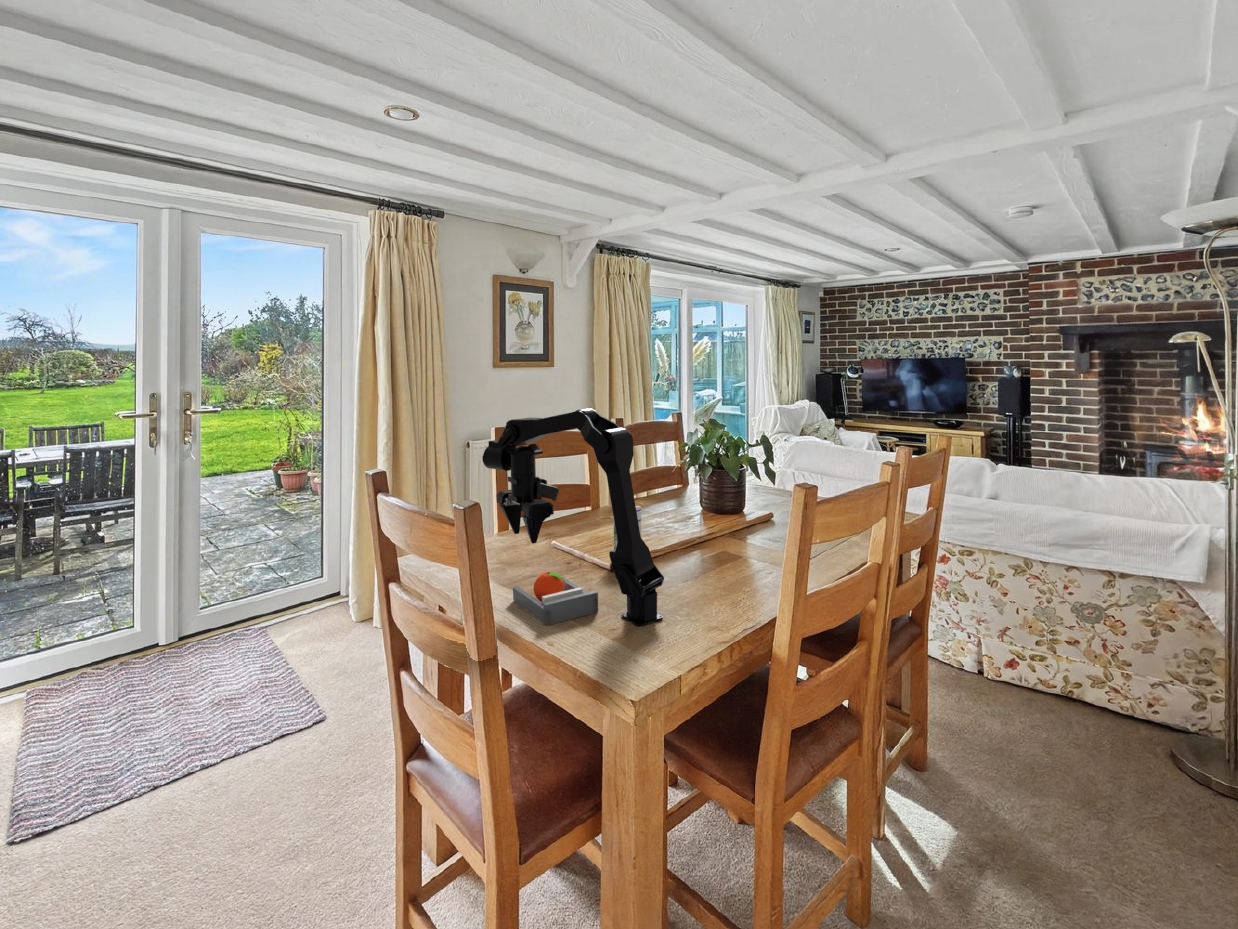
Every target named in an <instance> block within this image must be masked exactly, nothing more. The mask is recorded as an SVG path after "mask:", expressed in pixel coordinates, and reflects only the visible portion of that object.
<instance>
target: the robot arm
mask: <svg viewBox="0 0 1238 929" xmlns="http://www.w3.org/2000/svg"><path fill="white" fill-rule="evenodd" d="M504 427H505V428H504V430H503V431H502V433H501V435H500V437H499V438H498V439H497V440H495V439H494V440H489V441H488V443H487V444H488V446H487V447H485V449H484V451H483V454H482V456H481V458H482V462H483V465H484V467H486V468H487V469H491V470H498V471H505V472H510V476H507V482H509V483H510V489H503V490H499V491H498V492H497V493H496V503H497V504H499V505H498V506H499V508H500V509H501V510H502V513H503V514H504V516H505V518H506V520H507V522H508V525H509V526H510V528H511V530H512V532H513V534H514V535H518V534H520V530H521V529H520V528H521V517H522V520H523V524H524V526H525V529H526V531H527V535H528V537H529V540H530V542H531V544H536V543H538V542H537V541H538V538H539V535H540V532H541V528H542V525H543V523H544V521H546V520H547V519H548V518H550V517H551V516H552V515H554V513H555V506H554V504H552V503H551V501H554V502H556V501H557V500H558V497H559V492H560V490H561V489H560V488H559V487H556V486H554V485H550V484H548V481H547V479H544V478H541V477H538V476H537V474H536V472H537V470H536V467H537V466H536V456H538V455H542V454H543V452H544V451H543V450H542V449H541V448H540V447H539V446H538V445H537V444H536V443H534V442H537V441H539V440H541V439H543V438H544V437H546V436H548V435H550V434H556V433H562V432H566V431H572V430H576V429H577V430H578V431H580V433H581V436H582V438H583V440H584V441H585V443H587V445H589V446H590V447H592V448H593V452H594V456H595V458H596V462H597V463H598V464H599V466H600V467H601V469H602V470H603V471H604V473H605V475H606V481H607V486H608V491H609V498H610V503H611V510H612V516H613V524H614V523H615V529H616V535H617V546H616V549H614V548H613V549H612V550H610V551H609V552H608V553H609V560H610V562H611V569H610V570H611V572H613V573H614V577H615V579H616V580H617V583H618V586H619V588H620V592H621V594H622V595H626V612H622V613H621V617H622V618H623V619H625V620H627V621H629V622H630V623H632V624H634V625H636V626H638V627H640V626H644V625H648V624H651V623H655V622H658V621H661V620H663V619H664V616H663V615H661V614H660V613H658V592H657V589H658V588H659V587H662V585H663V583H664V580H665V576H664V575H663V574H662V573H661V571H660V570H659V568H657V566H656V565H655V563H654V560H653V557H652V555H651V551H650V548H649V546H648V545H647V544H646V542H645V541H644V540H643V538H642V535H641V536H640V530H639V524H638V518H637V512H636V506H637V505H636V500H635V495H634V489H633V483H632V476H631V465H632V463H633V459H634V454H635V453H634V438H633V435H632V433H631V432H630V431H629V430H628V429H627V428H624V427H621V426H619V424H617V423H615V422H614V421H612V420H610V419H608V418H607V417H604V416H603V415H601V414H600V413H599V412H598V411H596V410H595V409H593V408H589V407H588V408H581V409H577V410H575V411H572V412H567V413H562V414H556V415H553V416H548V417H543V418H542V417H523V418H517V419H509V420H507V422H506V424H505V426H504ZM529 443H530V444H529ZM531 443H532V444H531ZM527 444H528V446H526V445H527ZM543 498H545V499H546V500H545V499H543ZM547 499H549V500H551V501H548V500H547ZM522 514H523V515H522Z"/></svg>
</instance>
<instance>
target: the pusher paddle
mask: <svg viewBox="0 0 1238 929" xmlns="http://www.w3.org/2000/svg"><path fill="white" fill-rule="evenodd" d="M580 587H581V586H579V588H575V589H571V590H566V591H562V592H558V593H554V594H550V595H546V596H542V602H541V603H547V602H551V601H555V600H559V599H563V598H567V597H571V596H575V595H579V594H583V592H582V589H583V588H582V587H581V588H580Z"/></svg>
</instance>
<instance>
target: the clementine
mask: <svg viewBox="0 0 1238 929" xmlns="http://www.w3.org/2000/svg"><path fill="white" fill-rule="evenodd" d="M562 577H563V576H562ZM562 577H561V575H560V574H558V573H556V572H552V571H546V572H544V573H542V574H540V575H538V577H537V578H536V579H535V581H534V583H533V594H534V595H535V598H536V599H537V600H538V601H540V602H541V603H542V596H546V595H550V594H554V593H558V592H562V591H565V585H564V582H565V580H564V579H563V578H562ZM563 581H564V582H563ZM565 584H566V582H565ZM566 585H567V584H566Z"/></svg>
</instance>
